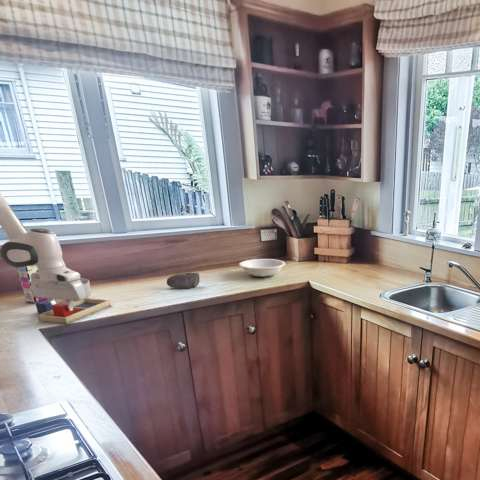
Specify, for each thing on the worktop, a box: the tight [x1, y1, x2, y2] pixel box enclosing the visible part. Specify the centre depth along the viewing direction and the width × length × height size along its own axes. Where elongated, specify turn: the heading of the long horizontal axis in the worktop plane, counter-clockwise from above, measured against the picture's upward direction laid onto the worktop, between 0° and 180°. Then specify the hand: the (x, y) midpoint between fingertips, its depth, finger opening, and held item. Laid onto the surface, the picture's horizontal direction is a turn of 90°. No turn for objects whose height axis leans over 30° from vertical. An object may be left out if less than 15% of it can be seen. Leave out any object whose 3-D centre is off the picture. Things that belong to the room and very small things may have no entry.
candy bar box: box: [15, 265, 47, 304], centre depth 197 cm, size 11×5×16 cm, turn 172°
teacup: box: [79, 277, 92, 298], centre depth 201 cm, size 14×11×8 cm
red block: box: [52, 302, 73, 317], centre depth 179 cm, size 4×4×4 cm
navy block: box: [34, 299, 52, 315], centre depth 184 cm, size 4×4×4 cm
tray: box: [37, 297, 112, 325], centre depth 185 cm, size 12×24×2 cm, turn 169°
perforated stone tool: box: [166, 272, 201, 289], centre depth 222 cm, size 15×5×7 cm, turn 108°
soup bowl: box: [238, 258, 286, 278], centre depth 249 cm, size 24×24×7 cm
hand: (63, 309), depth 179 cm, fingers open, 5 cm apart
